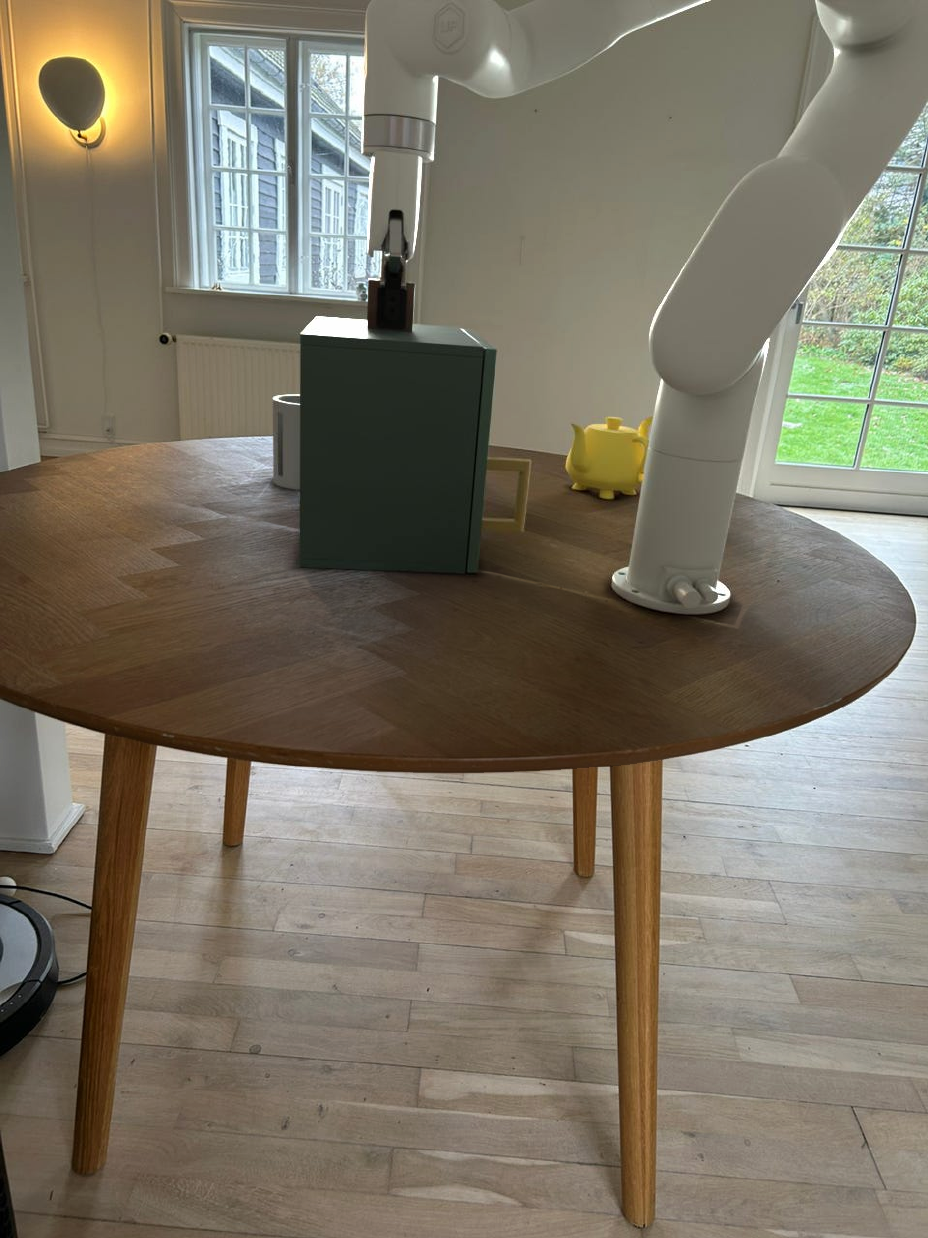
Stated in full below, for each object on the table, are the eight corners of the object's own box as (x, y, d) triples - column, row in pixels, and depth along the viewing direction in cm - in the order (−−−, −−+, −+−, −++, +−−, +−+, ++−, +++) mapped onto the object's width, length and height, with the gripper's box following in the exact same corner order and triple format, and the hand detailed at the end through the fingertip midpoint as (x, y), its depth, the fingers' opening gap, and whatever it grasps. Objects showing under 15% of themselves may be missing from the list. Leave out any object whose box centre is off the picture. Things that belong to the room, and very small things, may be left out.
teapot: (604, 511, 123) (616, 431, 119) (530, 487, 133) (539, 413, 129) (684, 496, 136) (697, 423, 132) (611, 475, 146) (621, 407, 142)
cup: (345, 480, 128) (347, 399, 124) (321, 493, 120) (322, 407, 116) (290, 472, 130) (290, 392, 126) (262, 485, 122) (261, 399, 117)
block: (412, 331, 93) (415, 283, 91) (366, 328, 93) (368, 279, 91) (410, 328, 98) (413, 281, 96) (367, 325, 97) (368, 278, 95)
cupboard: (446, 509, 118) (459, 327, 108) (465, 573, 94) (484, 346, 85) (314, 503, 115) (316, 316, 106) (299, 567, 92) (300, 333, 82)
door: (493, 510, 118) (509, 332, 109) (523, 574, 95) (547, 353, 85) (448, 508, 118) (461, 328, 108) (466, 572, 94) (485, 348, 85)
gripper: (362, 147, 96) (357, 318, 103) (361, 126, 80) (355, 329, 87) (429, 154, 97) (419, 323, 104) (440, 134, 81) (428, 335, 88)
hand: (390, 324), depth 95 cm, fingers closed on block, 5 cm apart
